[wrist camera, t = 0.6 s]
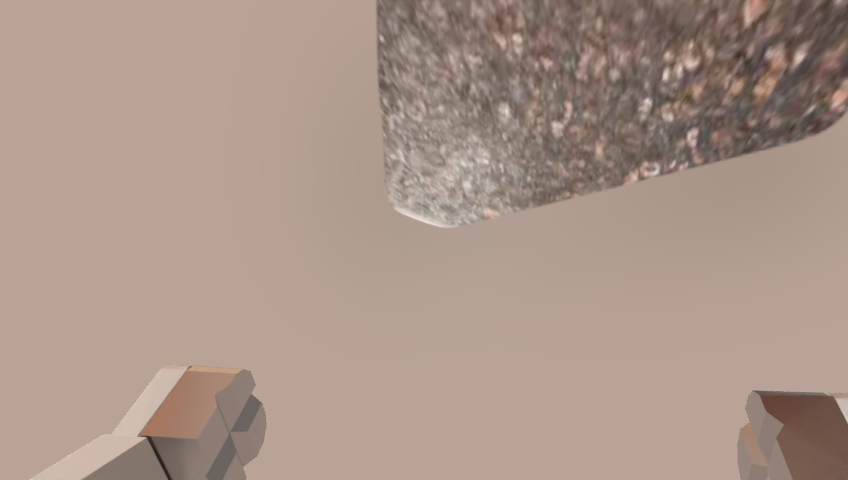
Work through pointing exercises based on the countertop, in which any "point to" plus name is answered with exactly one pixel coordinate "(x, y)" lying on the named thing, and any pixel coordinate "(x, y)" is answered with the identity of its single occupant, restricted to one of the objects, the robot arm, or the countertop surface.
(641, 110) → the countertop surface
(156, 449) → the robot arm
